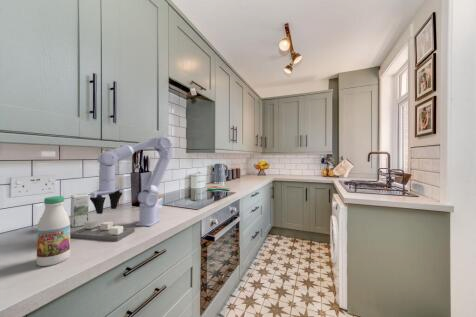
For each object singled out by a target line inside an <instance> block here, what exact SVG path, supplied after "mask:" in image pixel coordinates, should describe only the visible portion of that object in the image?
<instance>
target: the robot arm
mask: <svg viewBox="0 0 476 317" xmlns="http://www.w3.org/2000/svg"><path fill="white" fill-rule="evenodd" d="M172 146H173V143H172V141H171V138H170V137H168V136H164V135H163V136H156V137H152V138H148V139H144V140H143V141H140V142H137V143H135V144H133V145H131V146H130V145H129V144H120V145H119V147H116V148H109V149H108V151H104V152H101V153H100V154H99V155H98V157H97V162H98V163H99V169H98V174H99V175H98V189H97V190H95V191H93V192H90V195H89V201H91V203H92V204H93V206H94V209H95V212H96V214H97V215H102V214H103V212H104V204H105V200H106V199H107V198H106V195H108V198H109V200H110V210H117V208H118V204H119V201H120V199H121V196H122V195H123V192H122V187H119V186H117V187H116V169H115V168H116V166H115V165H116V163H117V162H120V161H123V160H126V159H129V158H131V157H132V156H133V154H134V153H135V152H138V151H141V150H144V149H148V148H153V149H155V151H156V152H157V153H158V155H159V158H158V160H157V162H156V164H155V166H154V169H153V171H152V173H151V176H150V178H149V180H148V181H147V184H146V185H145V186H144V187H143V189H142V190H141V191H140V192H139V193H138V195H137V200H138V202H139V221H138V222H137V223H135V224H134V225H135V226H141V227H151V226H153V225H155V224H156V223H158V222H160V221H161V219H160V207H159V205H158V204H157V202H158V200H159V197H158V195H159V193H160V191H159V187H160V185H161V182H162V180H163V177H164V175H165V173H166V171H167V168H168V166H169V164H170V161H171V159H172ZM103 196H105V197H103Z"/></svg>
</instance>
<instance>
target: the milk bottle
mask: <svg viewBox="0 0 476 317" xmlns="http://www.w3.org/2000/svg"><path fill="white" fill-rule="evenodd" d="M43 203H44V206H45V207H44V211H43V213H42V215H41V217H40V218H39V221H38V224H37V225H36V226H37V227H36V228H37V229H36V264H37V266H40V267H47V266H48V267H49V266H53V265H56V264H60V263H63V262H65V261H66V260H68V259H69V258H70V256H71V237H70V233H71V219H70V217H69V215H68V213H67V212H66V210H65V207H64V204H65V196H63V195H53V196H48V197H45V198H44V200H43Z"/></svg>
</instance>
